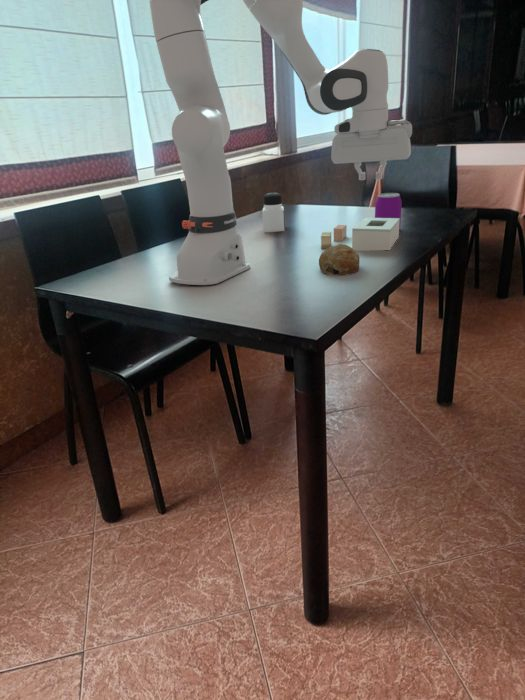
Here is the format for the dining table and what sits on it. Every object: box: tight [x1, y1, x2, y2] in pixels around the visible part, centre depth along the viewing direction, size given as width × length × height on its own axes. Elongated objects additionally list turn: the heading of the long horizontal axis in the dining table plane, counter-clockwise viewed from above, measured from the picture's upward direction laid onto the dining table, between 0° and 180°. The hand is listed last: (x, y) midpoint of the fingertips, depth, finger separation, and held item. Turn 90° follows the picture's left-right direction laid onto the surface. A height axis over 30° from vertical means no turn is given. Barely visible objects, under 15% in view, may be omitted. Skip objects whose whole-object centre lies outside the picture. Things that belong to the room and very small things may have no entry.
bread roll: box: [318, 243, 360, 276], centre depth 119 cm, size 10×10×8 cm
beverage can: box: [374, 192, 403, 231], centre depth 149 cm, size 8×8×12 cm
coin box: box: [351, 217, 400, 252], centre depth 137 cm, size 14×10×7 cm
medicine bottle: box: [261, 192, 286, 234], centre depth 166 cm, size 7×7×12 cm
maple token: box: [320, 231, 332, 250], centre depth 140 cm, size 5×2×4 cm, turn 169°
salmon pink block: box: [333, 224, 347, 242], centre depth 147 cm, size 5×2×4 cm, turn 156°
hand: (370, 179), depth 131 cm, fingers open, 3 cm apart
